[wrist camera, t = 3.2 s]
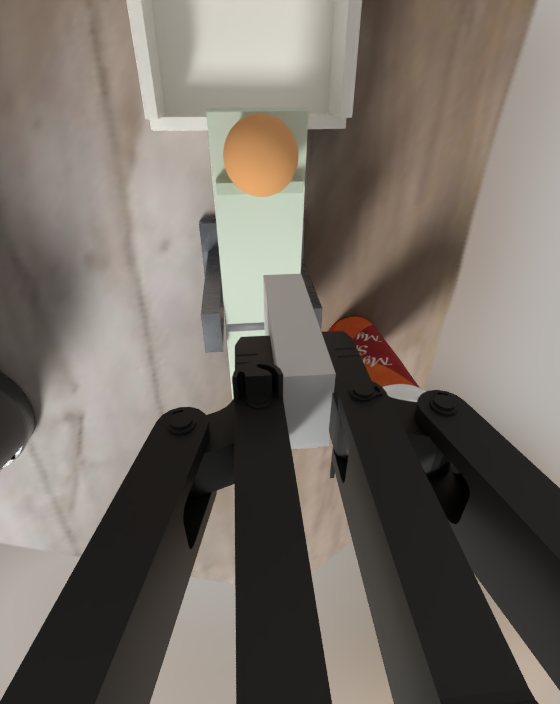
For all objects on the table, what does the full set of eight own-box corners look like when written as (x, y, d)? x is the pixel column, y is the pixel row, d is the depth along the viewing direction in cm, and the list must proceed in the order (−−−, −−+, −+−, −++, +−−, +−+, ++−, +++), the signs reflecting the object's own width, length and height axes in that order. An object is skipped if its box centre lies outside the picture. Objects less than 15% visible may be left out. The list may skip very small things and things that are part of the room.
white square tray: (158, 125, 31) (147, 133, 27) (118, -146, 23) (95, -194, 19) (335, 124, 32) (350, 131, 28) (352, -136, 24) (377, -179, 20)
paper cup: (351, 292, 41) (401, 378, 29) (400, 332, 44) (461, 424, 32) (299, 345, 43) (325, 443, 32) (348, 379, 47) (388, 478, 35)
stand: (208, 304, 40) (202, 381, 30) (199, 220, 35) (188, 278, 25) (300, 299, 40) (324, 373, 30) (303, 217, 36) (332, 272, 26)
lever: (232, 352, 39) (233, 414, 33) (209, 89, 25) (205, 115, 19) (284, 349, 39) (295, 410, 33) (290, 89, 25) (310, 114, 20)
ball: (225, 175, 22) (226, 212, 20) (219, 101, 19) (220, 133, 17) (291, 174, 22) (300, 210, 20) (295, 100, 20) (306, 132, 17)
